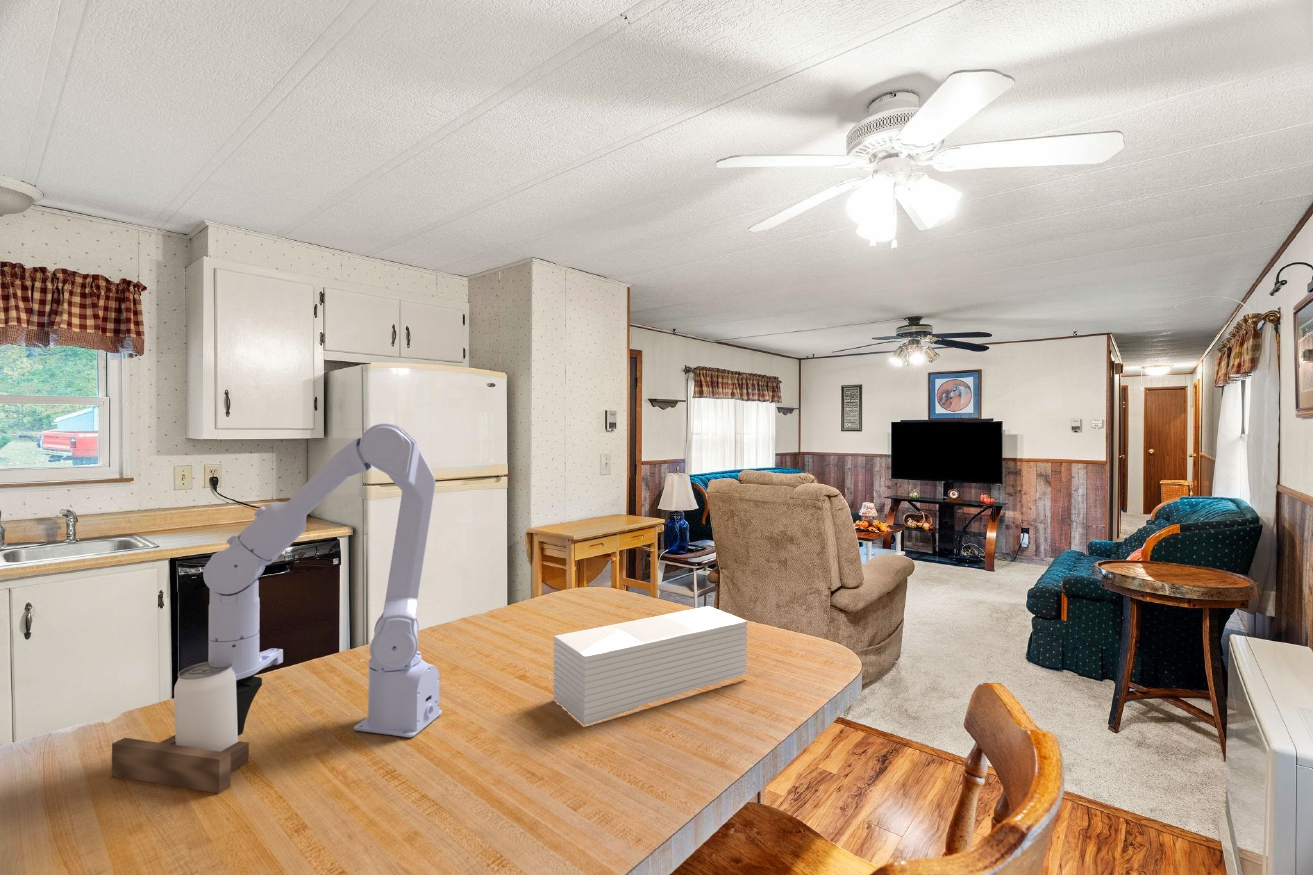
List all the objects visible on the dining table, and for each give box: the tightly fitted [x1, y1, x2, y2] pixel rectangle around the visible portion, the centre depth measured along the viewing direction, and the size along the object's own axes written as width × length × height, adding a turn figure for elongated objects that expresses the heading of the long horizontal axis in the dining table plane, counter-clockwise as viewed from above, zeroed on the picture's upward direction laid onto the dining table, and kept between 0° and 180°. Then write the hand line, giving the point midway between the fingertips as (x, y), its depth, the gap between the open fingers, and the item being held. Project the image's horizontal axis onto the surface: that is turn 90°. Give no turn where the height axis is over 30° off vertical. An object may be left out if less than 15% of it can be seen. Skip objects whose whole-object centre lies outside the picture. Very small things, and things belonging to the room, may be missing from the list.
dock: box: [111, 734, 250, 794], centre depth 77 cm, size 16×6×4 cm, turn 78°
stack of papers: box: [552, 605, 748, 726], centre depth 103 cm, size 32×11×11 cm, turn 124°
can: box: [173, 661, 239, 752], centre depth 79 cm, size 6×6×12 cm
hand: (233, 734), depth 84 cm, fingers closed
